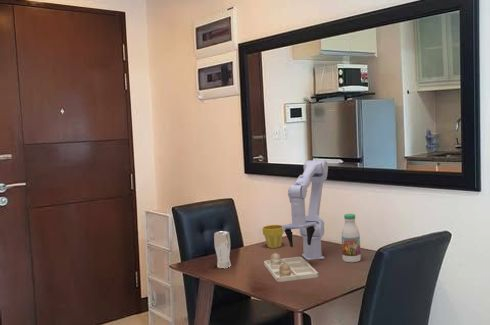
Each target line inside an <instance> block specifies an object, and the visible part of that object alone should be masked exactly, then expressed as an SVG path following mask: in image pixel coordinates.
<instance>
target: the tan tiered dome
mask: <svg viewBox="0 0 490 325" xmlns="http://www.w3.org/2000/svg"><path fill="white" fill-rule="evenodd" d="M279 272H280V277H286V276H291V269H290V266H289V265H288V264H286V263H284V264H282V265H281V266H280V268H279Z"/></svg>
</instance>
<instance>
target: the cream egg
mask: <svg viewBox="0 0 490 325" xmlns="http://www.w3.org/2000/svg"><path fill="white" fill-rule="evenodd" d="M281 259H282V257H281V255H280V254H279V253H277V252H274V253H272V254H271V255H270V259H269V260H271V266H272V265H281Z"/></svg>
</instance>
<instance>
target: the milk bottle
mask: <svg viewBox="0 0 490 325" xmlns="http://www.w3.org/2000/svg"><path fill="white" fill-rule="evenodd" d="M343 218H344V225H343V227H342V230H341V251H342V252H341V253H342V261H343V262H345V263H357V262H358V263H359V262H360V261H361V259H362V255H361V254H362V252H361V237H360V231H359V228H358V227H357V224H356V215H355V214H354V213H346V214H344V215H343Z"/></svg>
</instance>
